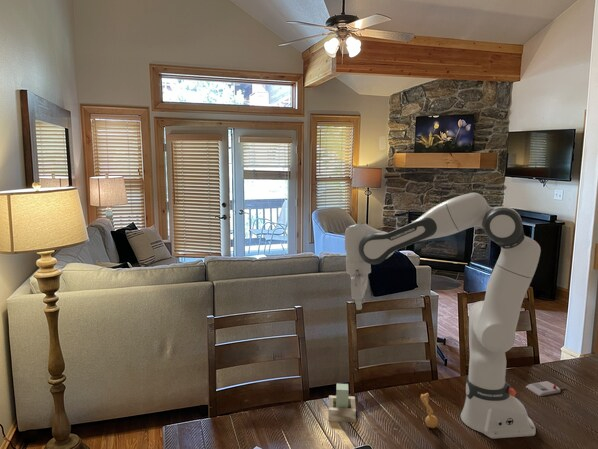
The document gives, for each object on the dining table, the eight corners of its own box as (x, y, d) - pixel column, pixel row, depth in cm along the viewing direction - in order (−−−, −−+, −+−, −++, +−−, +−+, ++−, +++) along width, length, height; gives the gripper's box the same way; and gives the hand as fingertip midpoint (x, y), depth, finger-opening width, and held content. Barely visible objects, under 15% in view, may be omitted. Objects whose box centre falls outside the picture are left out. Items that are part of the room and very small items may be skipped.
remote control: (521, 389, 168) (522, 382, 167) (554, 383, 172) (554, 376, 172) (535, 398, 161) (535, 390, 161) (568, 392, 166) (569, 384, 165)
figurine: (442, 434, 139) (443, 399, 137) (423, 435, 139) (424, 400, 137) (432, 419, 147) (434, 386, 146) (415, 419, 147) (416, 386, 145)
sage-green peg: (347, 410, 152) (348, 384, 151) (347, 417, 148) (348, 390, 147) (336, 410, 153) (336, 383, 151) (336, 417, 149) (336, 389, 147)
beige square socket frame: (354, 407, 155) (354, 396, 154) (355, 422, 146) (355, 411, 145) (328, 405, 155) (329, 395, 155) (328, 421, 147) (328, 409, 146)
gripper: (364, 273, 148) (366, 313, 149) (369, 263, 168) (371, 299, 168) (345, 273, 149) (348, 313, 150) (353, 264, 169) (355, 299, 170)
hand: (360, 305), depth 159 cm, fingers open, 8 cm apart
